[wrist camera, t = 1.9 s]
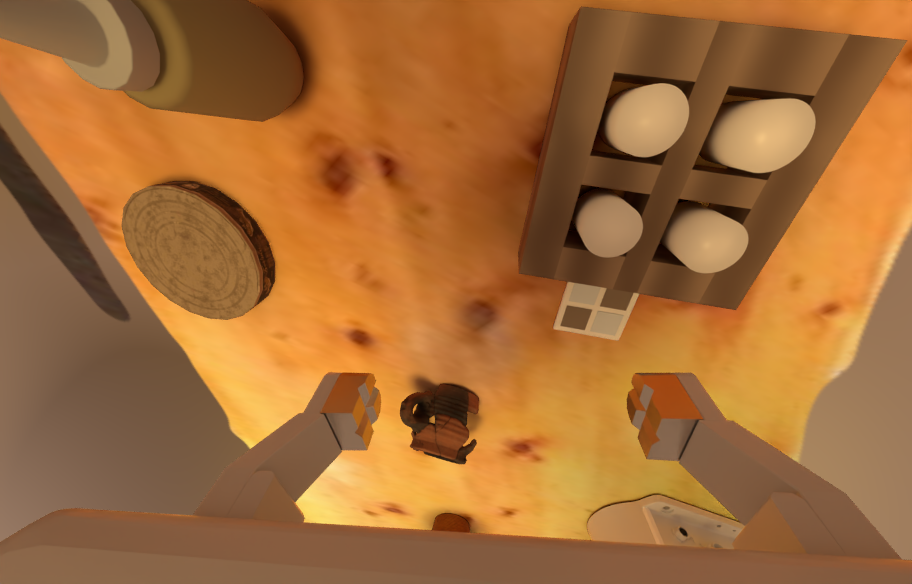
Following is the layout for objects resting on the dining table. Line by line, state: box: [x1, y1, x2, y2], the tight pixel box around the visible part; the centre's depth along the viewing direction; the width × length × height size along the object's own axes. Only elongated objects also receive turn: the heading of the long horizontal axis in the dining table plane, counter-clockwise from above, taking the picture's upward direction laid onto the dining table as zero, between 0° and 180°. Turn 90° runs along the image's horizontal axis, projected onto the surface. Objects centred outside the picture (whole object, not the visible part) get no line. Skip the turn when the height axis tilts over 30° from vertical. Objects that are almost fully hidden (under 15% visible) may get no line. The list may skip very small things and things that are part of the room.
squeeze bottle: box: [0, 0, 304, 122], centre depth 21 cm, size 8×8×18 cm
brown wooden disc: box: [122, 181, 275, 320], centre depth 38 cm, size 16×16×3 cm
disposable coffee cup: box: [432, 514, 470, 533], centre depth 54 cm, size 10×10×12 cm
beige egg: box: [599, 83, 689, 157], centre depth 22 cm, size 4×4×5 cm
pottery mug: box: [400, 384, 479, 464], centre depth 43 cm, size 12×10×8 cm
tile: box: [553, 282, 639, 341], centre depth 34 cm, size 7×7×1 cm
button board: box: [518, 7, 907, 310], centre depth 26 cm, size 18×18×5 cm
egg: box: [572, 189, 643, 258], centre depth 26 cm, size 4×4×5 cm
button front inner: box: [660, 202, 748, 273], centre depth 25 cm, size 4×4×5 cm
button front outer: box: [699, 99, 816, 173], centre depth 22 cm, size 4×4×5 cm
